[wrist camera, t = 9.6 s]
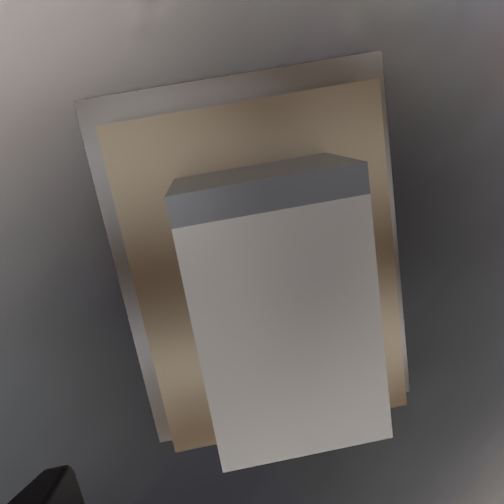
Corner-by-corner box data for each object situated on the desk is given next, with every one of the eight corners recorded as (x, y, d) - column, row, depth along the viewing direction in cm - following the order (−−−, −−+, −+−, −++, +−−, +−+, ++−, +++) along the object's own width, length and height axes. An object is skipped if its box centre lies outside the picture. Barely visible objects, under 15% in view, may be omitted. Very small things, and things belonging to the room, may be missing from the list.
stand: (402, 381, 21) (433, 421, 19) (161, 430, 21) (154, 479, 18) (374, 53, 18) (407, 39, 15) (78, 101, 17) (53, 97, 14)
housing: (351, 369, 18) (393, 437, 14) (218, 395, 17) (223, 472, 13) (326, 152, 15) (367, 161, 12) (174, 178, 15) (164, 196, 11)
